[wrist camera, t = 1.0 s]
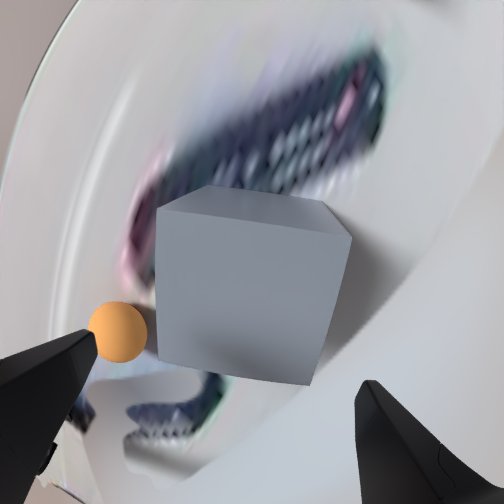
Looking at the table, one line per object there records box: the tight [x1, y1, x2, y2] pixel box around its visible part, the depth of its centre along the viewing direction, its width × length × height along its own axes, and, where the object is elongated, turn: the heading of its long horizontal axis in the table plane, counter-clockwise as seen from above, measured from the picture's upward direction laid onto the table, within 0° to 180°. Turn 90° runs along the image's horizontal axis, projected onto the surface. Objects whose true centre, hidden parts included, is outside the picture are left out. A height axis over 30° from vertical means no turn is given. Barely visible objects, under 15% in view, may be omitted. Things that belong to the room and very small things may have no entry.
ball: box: [88, 302, 147, 363], centre depth 21 cm, size 5×5×5 cm
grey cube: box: [155, 185, 353, 386], centre depth 16 cm, size 8×8×9 cm
